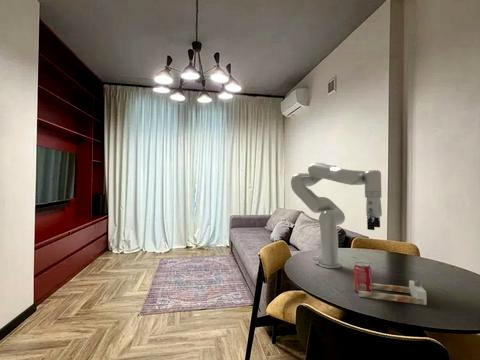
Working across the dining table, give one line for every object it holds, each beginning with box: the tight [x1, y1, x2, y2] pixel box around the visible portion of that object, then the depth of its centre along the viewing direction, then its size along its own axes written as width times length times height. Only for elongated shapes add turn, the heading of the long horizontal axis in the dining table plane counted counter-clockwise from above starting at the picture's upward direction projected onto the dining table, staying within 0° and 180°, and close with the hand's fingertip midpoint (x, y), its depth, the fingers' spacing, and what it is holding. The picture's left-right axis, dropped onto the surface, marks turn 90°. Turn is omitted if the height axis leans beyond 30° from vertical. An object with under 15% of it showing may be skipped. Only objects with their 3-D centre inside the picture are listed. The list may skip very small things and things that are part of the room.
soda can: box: [353, 261, 373, 294], centre depth 115 cm, size 7×7×12 cm
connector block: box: [408, 279, 428, 306], centre depth 109 cm, size 3×12×7 cm, turn 161°
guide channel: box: [358, 282, 425, 306], centre depth 112 cm, size 23×12×2 cm, turn 71°
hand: (373, 228), depth 134 cm, fingers open, 9 cm apart
